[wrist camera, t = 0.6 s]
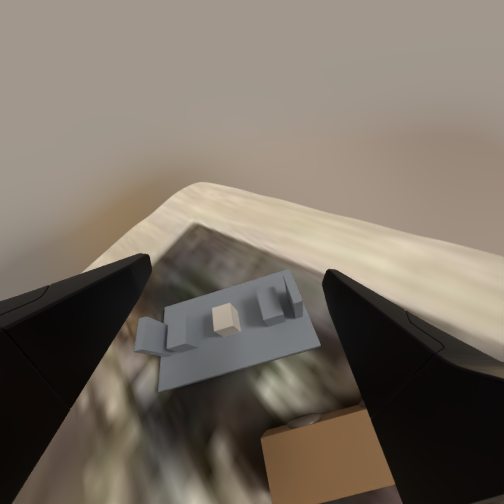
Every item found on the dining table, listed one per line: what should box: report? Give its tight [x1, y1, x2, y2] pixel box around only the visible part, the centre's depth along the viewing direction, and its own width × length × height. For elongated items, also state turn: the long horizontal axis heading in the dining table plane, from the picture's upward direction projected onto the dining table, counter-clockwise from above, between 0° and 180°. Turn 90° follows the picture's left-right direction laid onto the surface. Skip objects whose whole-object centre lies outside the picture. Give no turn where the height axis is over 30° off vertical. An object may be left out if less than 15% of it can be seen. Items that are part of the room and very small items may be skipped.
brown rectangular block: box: [261, 400, 395, 504], centre depth 13 cm, size 13×4×3 cm, turn 103°
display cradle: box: [134, 269, 321, 392], centre depth 19 cm, size 9×17×6 cm, turn 103°
